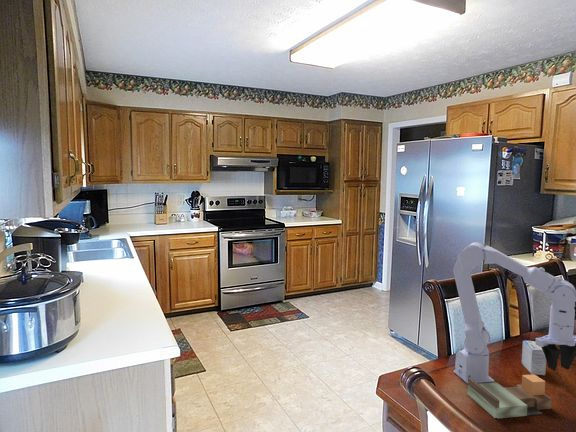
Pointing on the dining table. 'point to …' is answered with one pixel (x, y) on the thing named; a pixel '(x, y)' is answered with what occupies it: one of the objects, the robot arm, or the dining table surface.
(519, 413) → the board
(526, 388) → the orange block
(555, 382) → the dining table surface
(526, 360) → the medicine box
